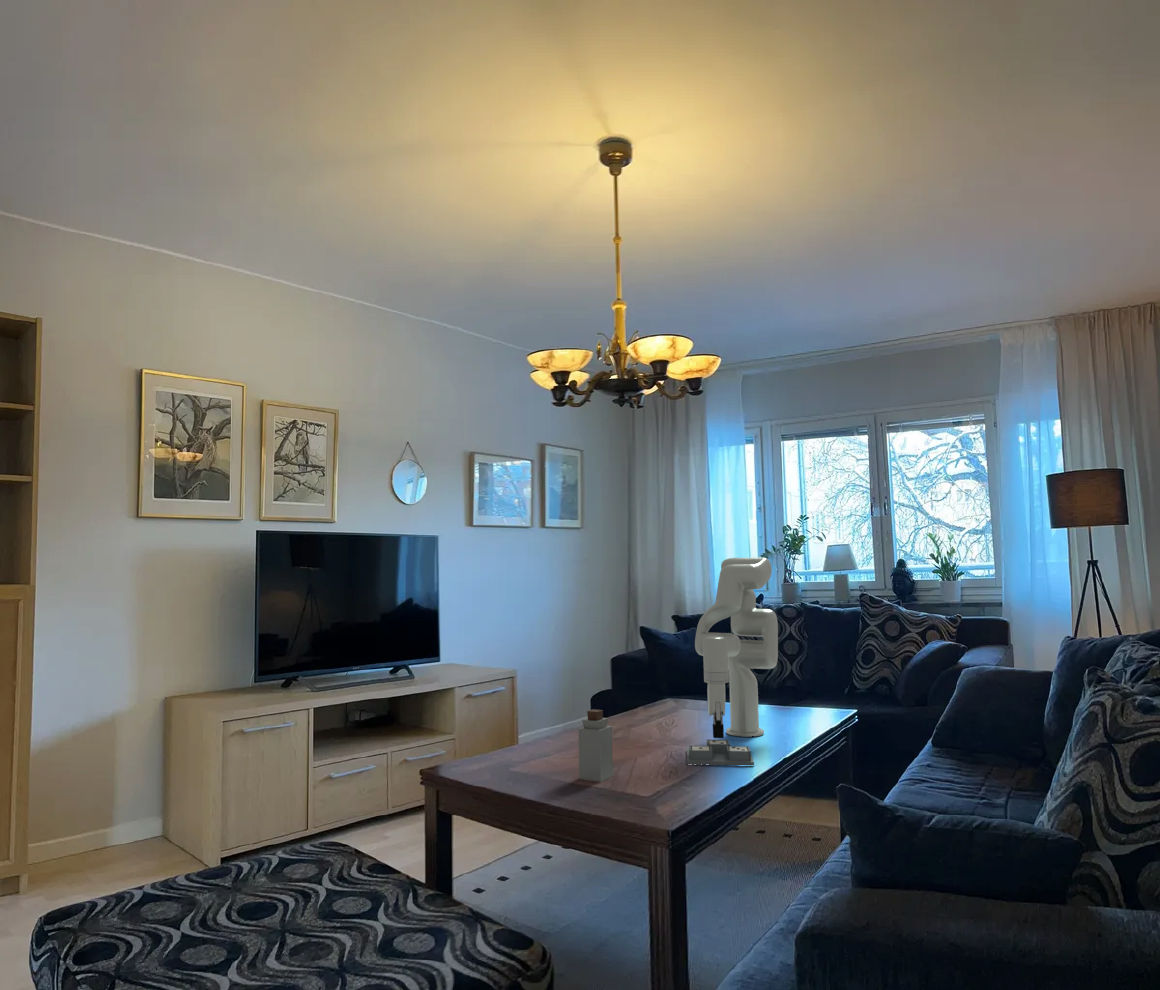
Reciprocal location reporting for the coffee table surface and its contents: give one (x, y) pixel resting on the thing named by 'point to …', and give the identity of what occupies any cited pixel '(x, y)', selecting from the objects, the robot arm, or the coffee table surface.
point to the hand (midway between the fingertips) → (718, 737)
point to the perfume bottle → (595, 748)
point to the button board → (719, 755)
